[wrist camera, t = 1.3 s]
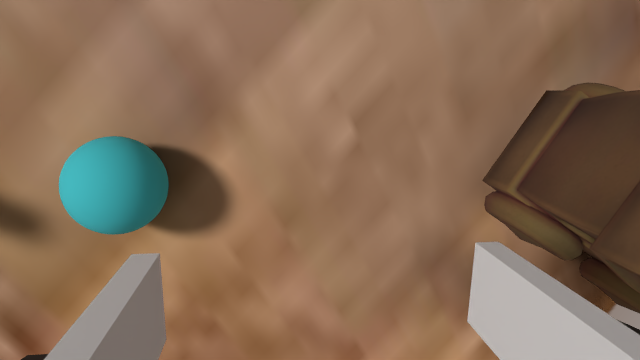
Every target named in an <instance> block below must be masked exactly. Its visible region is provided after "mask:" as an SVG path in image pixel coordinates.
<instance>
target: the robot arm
mask: <svg viewBox="0 0 640 360" xmlns="http://www.w3.org/2000/svg"><path fill="white" fill-rule="evenodd" d="M467 322H468V323H469V324H470V325H471V326H472V327H473V329H474V330H475V331H476V332H477V333H478V334H479V336H480V337H481V338H482V339H483V340H484V341H485V343H486V344H487V345H488V346H489V347H490V348H491V350H492V351H493V352H494V353H495V354H496V355H497V357H498V358H499V359H500V360H640V330H639V329H637V328H634V327H632V326H630V325H628V324H625V323H623V322H621V321H619V320H616V319H615V318H613V317H612V316H610V315H609V314H607V313H606V312H604V311H603V310H601V309H599V308H598V307H596V306H595V305H593V304H592V303H590V302H589V301H587V300H586V299H584V298H583V297H581V296H580V295H578V294H577V293H575V292H574V291H572V290H571V289H569V288H568V287H566V286H565V285H563V284H562V283H560V282H559V281H557V280H556V279H554V278H553V277H551V276H549V275H548V274H546V273H545V272H543V271H542V270H540V269H539V268H537V267H536V266H534V265H533V264H531V263H530V262H528V261H527V260H525V259H524V258H522V257H521V256H519V255H518V254H516V253H515V252H513V251H512V250H510V249H509V248H507V247H506V246H504V245H503V244H501V243H499V242H477V243H475V253H474V263H473V272H472V282H471V292H470V301H469V311H468V321H467ZM165 341H166V329H165V316H164V303H163V290H162V277H161V264H160V253H155V254H131V256H130V257H129V258H128V259H127V260H126V262H125V263H124V264H123V265H122V266H121V268H120V269H119V270H118V271H117V272H116V274H115V275H114V276H113V277H112V278H111V280H110V281H109V282H108V283H107V284H106V286H105V287H104V288H103V289H102V290H101V292H100V293H99V294H98V295H97V296H96V298H95V299H94V300H93V301H92V302H91V304H90V305H89V306H88V307H87V308H86V310H85V311H84V312H83V313H82V314H81V316H80V317H79V318H78V319H77V320H76V322H75V323H74V324H73V325H72V326H71V328H70V329H69V330H68V331H67V332H66V334H65V335H64V336H63V337H62V338H61V340H60V341H59V342H58V343H57V344H56V346H55V347H54V348H53V349H52V350H51V352H50V353H49V354H42V355H27V356H26V357H24V358H23V359H21V360H158V359H159V356H160V354H161V351H162V349H163V346H164V344H165Z"/></svg>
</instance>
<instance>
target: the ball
mask: <svg viewBox="0 0 640 360" xmlns="http://www.w3.org/2000/svg"><path fill="white" fill-rule="evenodd" d="M168 188H169V181H168V175H167V172H166V169H165V167H164V164H163V163H162V161H161V159H160V158H159V157H158V156H157V154H156V153H155V152H154V151H153V150H151V149H150V148H149V147H147V146H146V145H144V144H143V143H141V142H138V141H136V140H133V139H130V138H125V137H117V136H112V137H103V138H98V139H95V140H92V141H90V142H88V143H86V144H84V145H82V146H81V147H79V148H78V149H77V150H76V151H75V152H73V153H72V154H71V156H70V157H69V158H68V159H67V161H66V162H65V164H64V166H63V168H62V171H61V174H60V178H59V193H60V198H61V200H62V203H63V205H64V207H65V209H66V211H67V212H68V213H69V215H70V216H71V217H72V218H73V219H74V220H75V221H76V222H78V223H79V224H81V225H82V226H84V227H86V228H87V229H90V230H92V231H95V232H99V233H103V234H124V233H128V232H132V231H135V230H137V229H139V228H141V227H143V226H145V225H146V224H148V223H149V222H151V221H152V220H153V219H154V218H155V217H156V216H157V215H158V214H159V212H160V211H161V209H162V207H163V206H164V204H165V201H166V199H167V195H168Z"/></svg>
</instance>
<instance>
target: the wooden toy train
mask: <svg viewBox="0 0 640 360" xmlns="http://www.w3.org/2000/svg"><path fill="white" fill-rule="evenodd" d="M482 181H484V182H485V183H487V184H488V185H489V186H491V187H492V188H494V189H495V190H497V191H495V192H492V193H490V194H489V195H487V196H486V198H485V204H484V205H485V209H486V211H487V212H488V213H489V214H491V215H492V216H494V217H495V218H497V219H498V220H499V221H501V222H502V223H504V224H505V225H506V226H507V227H508V228H509V229H510V230H511V231H512V232H513V233H514V234H515V235H517V236H518V237H519V238H520V239H521V240H524V241H526V242H529V243H531V244H534V245H536V246H539V247H541V248H543V249H545V250H547V251H548V252H550V253H552V254H554V255H555V256H557V257H559V258H561V259H563V260H572V259H574V258H576V257H578V256H580V255H581V254H582V250H583V251H584V252H586V253H587V254H589V255H590V256H592V258H587V259H586V260H584V261H583V262H581V265H580V273H581V275H582V276H583V277H584V278H586V279H587V280H588V281H590V282H591V283H593V284H594V285H596V286H597V287H599V288H600V289H601V290H602V291H603V292H604V293H606V294H607V295H608V296H609V297H610V298H611V299H612V300H613V301H614V302H615V303H616V304H618V305H621V306H623V307H626V308H628V309H630V310H633V311H635V312H638V313H640V90H636V91H624V90H621V89H619V88H616V87H612V86H608V85H604V84H598V83H583V84H577V85H572V86H571V87H569V88H567V89H566V90H564V91H546V92H545V93H544V95H543V96H542V98H541V99H540V100H539V102H538V103H537V105H536V106H535V107H534V109H533V110H532V112H531V113H530V114H529V116H528V117H527V119H526V120H525V121H524V123H523V124H522V126H521V127H520V128H519V130H518V131H517V133H516V134H515V135H514V137H513V138H512V140H511V141H510V142H509V144H508V145H507V147H506V148H505V149H504V151H503V152H502V154H501V155H500V156H499V158H498V159H497V161H496V162H495V163H494V165H493V166H492V168H491V169H490V170H489V172H488V173H487V175H486V176H485V177H484V179H483V180H482Z"/></svg>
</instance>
